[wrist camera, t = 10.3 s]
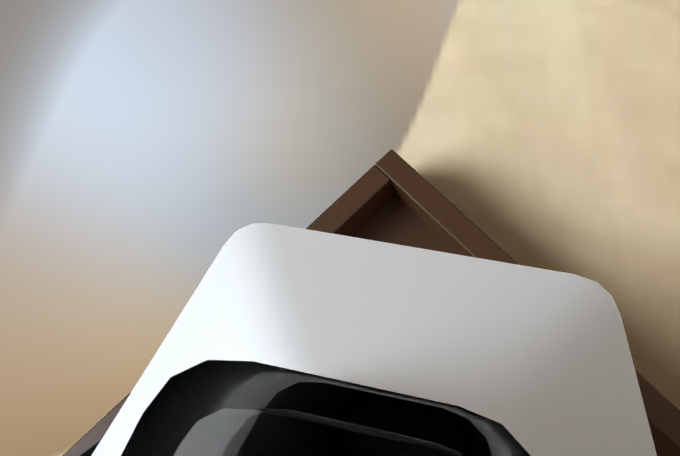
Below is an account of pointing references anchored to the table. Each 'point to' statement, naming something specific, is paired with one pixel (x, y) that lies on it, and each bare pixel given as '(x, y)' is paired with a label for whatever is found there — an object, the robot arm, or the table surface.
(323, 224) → the tray
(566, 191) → the table surface
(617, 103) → the table surface
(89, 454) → the robot arm
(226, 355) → the perfume bottle
